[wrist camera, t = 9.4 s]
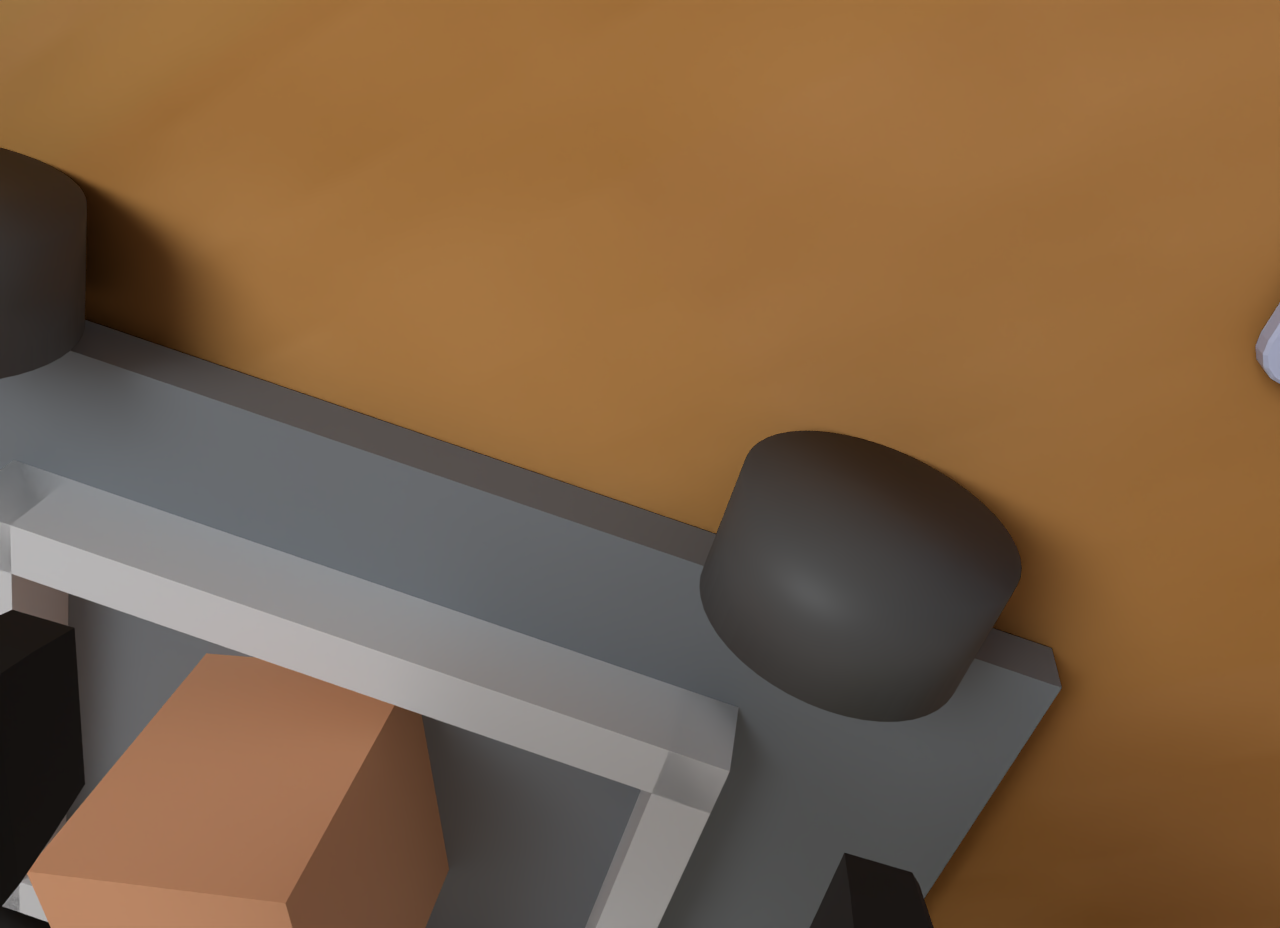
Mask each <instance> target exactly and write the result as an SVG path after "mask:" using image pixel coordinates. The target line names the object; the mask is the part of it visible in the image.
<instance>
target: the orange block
mask: <svg viewBox="0 0 1280 928" xmlns="http://www.w3.org/2000/svg"><path fill="white" fill-rule="evenodd" d="M448 871H449V866H448V860H447V855H446V849H445V843H444V838H443V832H442V826H441V821H440V815H439V810H438V804H437V798H436V793H435V787H434V781H433V776H432V770H431V765H430V759H429V753H428V748H427V742H426V737H425V731H424V725H423V720H422V714H419V713H416V712H413V711H410V710H407V709H404V708H401V707H398V706H396V705H393V704H390V703H387V702H384V701H381V700H378V699H375V698H372V697H369V696H366V695H363V694H361V693H358V692H355V691H352V690H349V689H346V688H343V687H340V686H337V685H334V684H331V683H328V682H326V681H323V680H320V679H317V678H314V677H311V676H308V675H305V674H302V673H299V672H296V671H294V670H291V669H288V668H285V667H282V666H279V665H276V664H273V663H270V662H267V661H264V660H261V659H259V658H256V657H244V656H232V655H220V654H208V653H206V654H205V656H204V657H203V658H202V659H201V660H200V662H199V663H198V664H197V665H196V666H195V668H194V669H193V670H192V671H191V673H190V674H189V675H188V676H187V677H186V679H185V680H184V681H183V682H182V683H181V685H180V686H179V687H178V688H177V689H176V691H175V692H174V693H173V694H172V695H171V697H170V698H169V699H168V700H167V702H166V703H165V704H164V705H163V706H162V708H161V709H160V710H159V711H158V712H157V714H156V715H155V716H154V717H153V718H152V720H151V721H150V722H149V723H148V725H147V726H146V727H145V728H144V729H143V731H142V732H141V733H140V734H139V735H138V737H137V738H136V739H135V740H134V741H133V743H132V744H131V745H130V746H129V747H128V749H127V750H126V751H125V752H124V754H123V755H122V756H121V757H120V758H119V760H118V761H117V762H116V763H115V764H114V766H113V767H112V768H111V769H110V770H109V772H108V773H107V774H106V775H105V776H104V778H103V779H102V780H101V781H100V783H99V784H98V785H97V786H96V787H95V789H94V790H93V791H92V792H91V793H90V795H89V796H88V797H87V798H86V799H85V801H84V802H83V803H82V804H81V805H80V807H79V808H78V809H77V810H76V812H75V813H74V814H73V815H72V816H71V818H70V819H69V820H68V821H67V822H66V824H65V825H64V826H63V827H62V828H61V830H60V831H59V832H58V833H57V834H56V836H55V837H54V838H53V839H52V841H51V842H50V843H49V844H48V845H47V847H46V848H45V849H44V850H43V851H42V853H41V854H40V855H39V856H38V858H37V859H36V861H35V862H34V864H33V865H32V867H31V868H30V870H29V871H28V873H27V875H28V877H29V879H30V882H31V884H32V886H33V888H34V891H35V893H36V895H37V897H38V900H39V902H40V904H41V907H42V909H43V911H44V913H45V916H46V918H47V920H48V922H49V925H50V927H51V928H425V927H426V925H427V922H428V920H429V917H430V915H431V913H432V910H433V908H434V905H435V903H436V900H437V898H438V895H439V893H440V890H441V888H442V885H443V883H444V881H445V878H446V876H447V873H448Z"/></svg>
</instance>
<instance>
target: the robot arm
mask: <svg viewBox="0 0 1280 928" xmlns="http://www.w3.org/2000/svg"><path fill="white" fill-rule="evenodd" d="M1256 359H1257V360H1258V362H1259V364H1260V365H1261V367H1262V368H1263V370H1264V371H1265V372H1266V373H1267V375H1268V376H1269V377H1270V378H1271V379H1272V380H1274V381H1276V382H1277V383H1279V384H1280V303H1279V305H1278V306H1277V308H1276V310H1275V311H1274V313H1273V314H1272V316H1271V317H1270V319H1269V321H1268V322H1267V324H1266V325H1265V327H1264V328H1263V330H1262V332H1261V333H1260V336H1259V338H1258V341H1257V344H1256ZM84 785H85V775H84V760H83V745H82V730H81V715H80V700H79V685H78V670H77V655H76V640H75V628H74V627H70V626H67V625H63V624H60V623H57V622H53V621H50V620H46V619H43V618H39V617H36V616H33V615H29V614H26V613H22V612H19V611H15V610H10V611H8V612H6V613H4V614H1V615H0V908H1V907H2V906H3V904H4V903H5V902H6V901H7V899H8V898H9V897H10V896H11V894H12V893H13V892H14V891H15V890H16V888H17V887H18V886H19V884H20V883H21V882H22V880H23V879H24V877H25V876H26V874H27V873H28V871H29V870H30V868H31V867H32V865H33V864H34V862H35V861H36V859H37V858H38V856H39V855H40V854H41V852H42V851H43V849H44V848H45V846H46V845H47V843H48V842H49V840H50V839H51V837H52V836H53V834H54V832H55V831H56V829H57V828H58V826H59V825H60V823H61V821H62V820H63V818H64V817H65V815H66V814H67V812H68V810H69V809H70V807H71V806H72V804H73V803H74V801H75V799H76V798H77V796H78V795H79V793H80V792H81V790H82V788H83V787H84ZM810 928H933V925H932V922H931V919H930V916H929V913H928V910H927V907H926V904H925V900H924V897H923V894H922V891H921V888H920V885H919V883H918V881H917V880H916V878H915V876H914V875H913V873H912V872H910V871H906V870H903V869H899V868H896V867H892V866H889V865H886V864H882V863H879V862H875V861H872V860H868V859H865V858H862V857H858V856H855V855H851V854H848V853H844V854H843V857H842V859H841V861H840V863H839V865H838V867H837V870H836V872H835V874H834V876H833V878H832V880H831V883H830V885H829V887H828V889H827V891H826V893H825V896H824V898H823V900H822V902H821V904H820V906H819V909H818V911H817V913H816V915H815V917H814V919H813V922H812V924H811V926H810Z"/></svg>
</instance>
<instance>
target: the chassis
mask: <svg viewBox="0 0 1280 928" xmlns="http://www.w3.org/2000/svg"><path fill="white" fill-rule="evenodd" d="M86 230H87V200H86V197H85V195H84V192H83V191H82V190H81V188H80V187H79V186H78V185H77V184H76V183H75V182H74V181H73V180H72V179H71V178H69V177H68V176H66V175H65V174H63V173H62V172H60V171H58V170H57V169H55V168H53V167H51V166H49V165H47V164H45V163H43V162H40V161H38V160H36V159H33V158H30V157H28V156H25V155H22V154H19V153H16V152H13V151H10V150H6V149H3V148H0V615H1V614H4V613H6V612H8V611H10V610H15V611H19V612H22V613H26V614H29V615H33V616H36V617H39V618H43V619H46V620H50V621H53V622H57V623H60V624H63V625H67V626H70V627H74V628H75V640H76V655H77V670H78V685H79V700H80V715H81V730H82V745H83V760H84V775H85V785H84V787H83V788H82V790H81V792H80V793H79V795H78V796H77V798H76V799H75V801H74V803H73V804H72V806H71V807H70V809H69V810H68V812H67V814H66V815H65V817H64V818H63V820H62V821H61V823H60V825H59V826H58V828H57V829H56V831H55V832H54V834H53V836H52V837H51V839H50V840H49V842H48V843H47V845H48V844H49V843H50V842H51V841H52V839H53V838H54V837H55V836H56V834H57V833H58V832H59V831H60V830H61V828H62V827H63V826H64V825H65V824H66V822H67V821H68V820H69V819H70V818H71V816H72V815H73V814H74V813H75V812H76V810H77V809H78V808H79V807H80V805H81V804H82V803H83V802H84V801H85V799H86V798H87V797H88V796H89V795H90V793H91V792H92V791H93V790H94V789H95V787H96V786H97V785H98V784H99V783H100V781H101V780H102V779H103V778H104V776H105V775H106V774H107V773H108V772H109V770H110V769H111V768H112V767H113V766H114V764H115V763H116V762H117V761H118V760H119V758H120V757H121V756H122V755H123V754H124V752H125V751H126V750H127V749H128V747H129V746H130V745H131V744H132V743H133V741H134V740H135V739H136V738H137V737H138V735H139V734H140V733H141V732H142V731H143V729H144V728H145V727H146V726H147V725H148V723H149V722H150V721H151V720H152V718H153V717H154V716H155V715H156V714H157V712H158V711H159V710H160V709H161V708H162V706H163V705H164V704H165V703H166V702H167V700H168V699H169V698H170V697H171V695H172V694H173V693H174V692H175V691H176V689H177V688H178V687H179V686H180V685H181V683H182V682H183V681H184V680H185V679H186V677H187V676H188V675H189V674H190V673H191V671H192V670H193V669H194V668H195V666H196V665H197V664H198V663H199V662H200V660H201V659H202V658H203V657H204V656H205V654H206V653H208V654H220V655H232V656H244V657H256V658H259V659H261V660H264V661H267V662H270V663H273V664H276V665H279V666H282V667H285V668H288V669H291V670H294V671H296V672H299V673H302V674H305V675H308V676H311V677H314V678H317V679H320V680H323V681H326V682H328V683H331V684H334V685H337V686H340V687H343V688H346V689H349V690H352V691H355V692H358V693H361V694H363V695H366V696H369V697H372V698H375V699H378V700H381V701H384V702H387V703H390V704H393V705H396V706H398V707H401V708H404V709H407V710H410V711H413V712H416V713H419V714H422V720H423V725H424V731H425V737H426V742H427V748H428V753H429V759H430V765H431V770H432V776H433V781H434V787H435V793H436V798H437V804H438V810H439V815H440V821H441V826H442V832H443V838H444V843H445V849H446V855H447V860H448V866H449V871H448V873H447V876H446V878H445V881H444V883H443V885H442V888H441V890H440V893H439V895H438V898H437V900H436V903H435V905H434V908H433V910H432V913H431V915H430V917H429V920H428V922H427V925H426V927H425V928H810V926H811V924H812V922H813V919H814V917H815V915H816V913H817V911H818V909H819V906H820V904H821V902H822V900H823V898H824V896H825V893H826V891H827V889H828V887H829V885H830V883H831V880H832V878H833V876H834V874H835V872H836V870H837V867H838V865H839V863H840V861H841V859H842V857H843V854H844V853H848V854H851V855H855V856H858V857H862V858H865V859H868V860H872V861H875V862H879V863H882V864H886V865H889V866H892V867H896V868H899V869H903V870H906V871H910V872H912V873H913V875H914V876H915V878H916V880H917V881H918V883H919V885H920V888H921V891H922V894H923V897H924V898H925V896H926V895H927V893H928V892H929V890H930V889H931V887H932V886H933V884H934V883H935V881H936V880H937V878H938V877H939V875H940V873H941V872H942V870H943V869H944V867H945V866H946V864H947V863H948V861H949V860H950V858H951V857H952V855H953V854H954V852H955V851H956V849H957V847H958V846H959V844H960V843H961V841H962V840H963V838H964V837H965V835H966V834H967V832H968V831H969V829H970V828H971V826H972V824H973V823H974V821H975V820H976V818H977V817H978V815H979V814H980V812H981V811H982V809H983V808H984V806H985V805H986V803H987V802H988V800H989V798H990V797H991V795H992V794H993V792H994V791H995V789H996V788H997V786H998V785H999V783H1000V782H1001V780H1002V779H1003V777H1004V775H1005V774H1006V772H1007V771H1008V769H1009V768H1010V766H1011V765H1012V763H1013V762H1014V760H1015V759H1016V757H1017V756H1018V754H1019V752H1020V751H1021V749H1022V748H1023V746H1024V745H1025V743H1026V742H1027V740H1028V739H1029V737H1030V736H1031V734H1032V733H1033V731H1034V730H1035V728H1036V726H1037V725H1038V723H1039V722H1040V720H1041V719H1042V717H1043V716H1044V714H1045V713H1046V711H1047V710H1048V708H1049V707H1050V705H1051V703H1052V702H1053V700H1054V699H1055V697H1056V696H1057V694H1058V693H1059V691H1060V690H1061V688H1062V687H1061V683H1060V679H1059V675H1058V671H1057V667H1056V663H1055V659H1054V655H1053V651H1052V648H1050V647H1047V646H1044V645H1041V644H1038V643H1035V642H1032V641H1029V640H1026V639H1023V638H1020V637H1017V636H1014V635H1011V634H1008V633H1005V632H1003V631H1000V630H997V629H994V628H993V626H994V624H995V622H996V621H997V619H998V617H999V616H1000V614H1001V612H1002V611H1003V609H1004V607H1005V605H1006V604H1007V602H1008V600H1009V599H1010V597H1011V595H1012V593H1013V592H1014V590H1015V588H1016V587H1017V584H1018V582H1019V580H1020V577H1021V569H1022V567H1021V560H1020V555H1019V553H1018V550H1017V547H1016V545H1015V543H1014V541H1013V539H1012V537H1011V536H1010V534H1009V533H1008V531H1007V530H1006V528H1005V527H1004V526H1003V524H1002V523H1001V522H1000V521H999V520H998V518H997V517H996V516H995V515H994V514H993V513H992V512H991V511H990V510H989V509H988V508H987V507H986V506H985V505H984V504H983V503H982V502H981V501H979V500H978V499H977V498H976V497H975V496H973V495H972V494H971V493H970V492H968V491H967V490H966V489H964V488H963V487H962V486H960V485H959V484H958V483H956V482H955V481H953V480H951V479H950V478H948V477H947V476H945V475H944V474H942V473H940V472H939V471H937V470H935V469H933V468H932V467H930V466H928V465H926V464H924V463H922V462H920V461H918V460H916V459H914V458H912V457H910V456H908V455H905V454H903V453H901V452H898V451H896V450H893V449H891V448H888V447H885V446H883V445H880V444H877V443H874V442H870V441H867V440H864V439H860V438H856V437H852V436H847V435H842V434H836V433H830V432H820V431H793V432H786V433H780V434H776V435H773V436H770V437H768V438H766V439H764V440H762V441H760V442H759V443H757V444H756V445H755V446H754V447H753V448H752V449H751V450H750V452H749V453H748V455H747V457H746V459H745V462H744V464H743V467H742V469H741V472H740V475H739V477H738V480H737V482H736V485H735V487H734V490H733V492H732V495H731V498H730V500H729V503H728V505H727V508H726V510H725V513H724V515H723V518H722V521H721V523H720V526H719V528H718V531H717V533H716V534H714V533H711V532H708V531H705V530H702V529H699V528H696V527H694V526H691V525H688V524H685V523H682V522H679V521H676V520H673V519H670V518H667V517H664V516H661V515H658V514H655V513H652V512H649V511H646V510H643V509H641V508H638V507H635V506H632V505H629V504H626V503H623V502H620V501H617V500H614V499H611V498H608V497H605V496H602V495H599V494H596V493H593V492H591V491H588V490H585V489H582V488H579V487H576V486H573V485H570V484H567V483H564V482H561V481H558V480H555V479H552V478H549V477H546V476H543V475H540V474H538V473H535V472H532V471H529V470H526V469H523V468H520V467H517V466H514V465H511V464H508V463H505V462H502V461H499V460H496V459H493V458H490V457H488V456H485V455H482V454H479V453H476V452H473V451H470V450H467V449H464V448H461V447H458V446H455V445H452V444H449V443H446V442H443V441H440V440H437V439H435V438H432V437H429V436H426V435H423V434H420V433H417V432H414V431H411V430H408V429H405V428H402V427H399V426H396V425H393V424H390V423H387V422H385V421H382V420H379V419H376V418H373V417H370V416H367V415H364V414H361V413H358V412H355V411H352V410H349V409H346V408H343V407H340V406H337V405H334V404H332V403H329V402H326V401H323V400H320V399H317V398H314V397H311V396H308V395H305V394H302V393H299V392H296V391H293V390H290V389H287V388H284V387H282V386H279V385H276V384H273V383H270V382H267V381H264V380H261V379H258V378H255V377H252V376H249V375H246V374H243V373H240V372H237V371H234V370H231V369H229V368H226V367H223V366H220V365H217V364H214V363H211V362H208V361H205V360H202V359H199V358H196V357H193V356H190V355H187V354H184V353H181V352H179V351H176V350H173V349H170V348H167V347H164V346H161V345H158V344H155V343H152V342H149V341H146V340H143V339H140V338H137V337H134V336H131V335H128V334H126V333H123V332H120V331H117V330H114V329H111V328H108V327H105V326H102V325H99V324H96V323H93V322H90V321H87V320H85V291H86ZM47 845H46V846H45V848H46V847H47ZM45 848H44V849H45ZM44 849H43V850H44ZM41 853H42V852H41ZM0 928H51V927H50V925H49V922H48V920H47V918H46V916H45V913H44V911H43V909H42V907H41V904H40V902H39V900H38V897H37V895H36V893H35V891H34V888H33V886H32V884H31V882H30V879H29V877H28V875H27V874H26V876H25V877H24V879H23V880H22V882H21V883H20V884H19V886H18V887H17V888H16V890H15V891H14V892H13V893H12V894H11V896H10V897H9V898H8V899H7V901H6V902H5V903H4V904H3V906H2V907H1V908H0Z"/></svg>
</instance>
